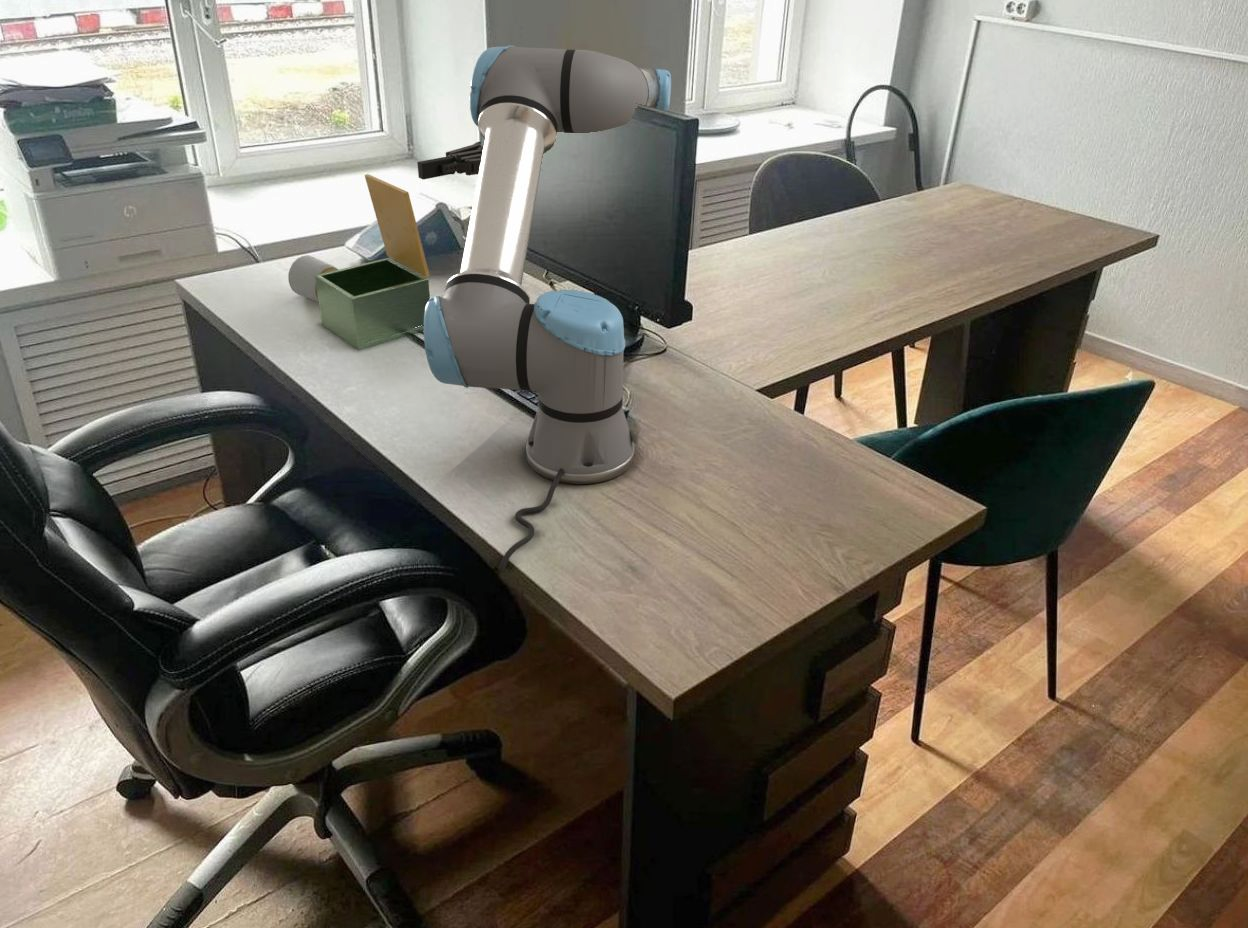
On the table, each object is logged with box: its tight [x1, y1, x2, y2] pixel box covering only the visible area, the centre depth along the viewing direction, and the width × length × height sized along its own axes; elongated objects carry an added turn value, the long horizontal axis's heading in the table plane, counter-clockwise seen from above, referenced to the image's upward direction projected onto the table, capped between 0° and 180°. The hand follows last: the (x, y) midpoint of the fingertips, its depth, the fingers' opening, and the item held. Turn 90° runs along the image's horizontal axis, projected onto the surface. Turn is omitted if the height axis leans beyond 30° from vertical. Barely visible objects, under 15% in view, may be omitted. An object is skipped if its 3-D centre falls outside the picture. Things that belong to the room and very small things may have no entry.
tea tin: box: [315, 257, 431, 351], centre depth 177 cm, size 15×14×9 cm
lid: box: [364, 173, 431, 278], centre depth 173 cm, size 15×14×1 cm
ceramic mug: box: [287, 254, 340, 303], centre depth 188 cm, size 11×8×8 cm
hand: (420, 170), depth 172 cm, fingers closed
